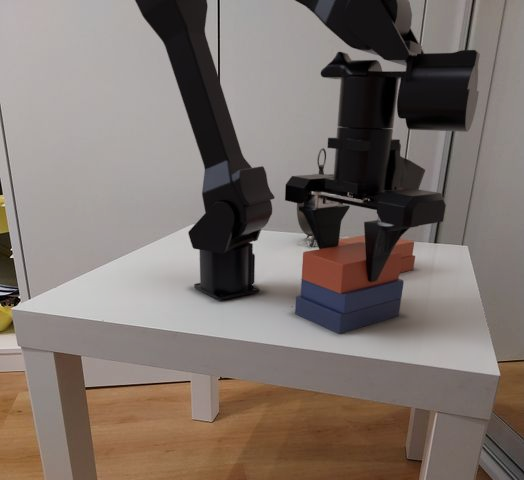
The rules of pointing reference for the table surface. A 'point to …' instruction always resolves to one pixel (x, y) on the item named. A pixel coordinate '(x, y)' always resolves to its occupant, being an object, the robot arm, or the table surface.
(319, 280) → the rust book
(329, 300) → the navy stack
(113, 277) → the table surface
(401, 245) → the rust stack
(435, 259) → the table surface
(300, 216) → the alarm clock
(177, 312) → the table surface
